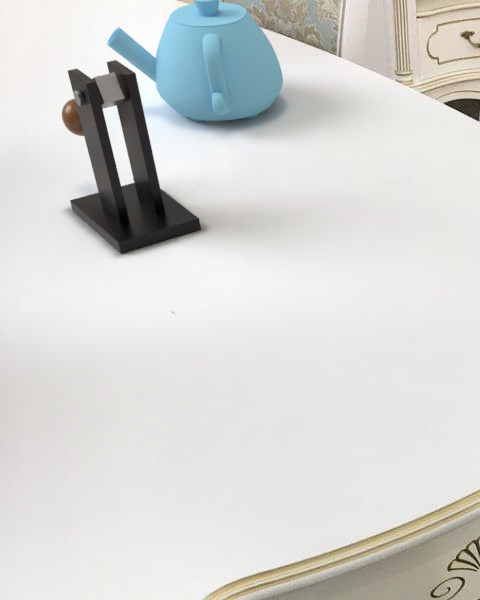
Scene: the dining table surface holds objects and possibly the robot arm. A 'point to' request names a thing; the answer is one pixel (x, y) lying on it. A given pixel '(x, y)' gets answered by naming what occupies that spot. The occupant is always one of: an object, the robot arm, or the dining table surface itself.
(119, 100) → the lever
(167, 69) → the teapot
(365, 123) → the dining table surface
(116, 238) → the bracket
